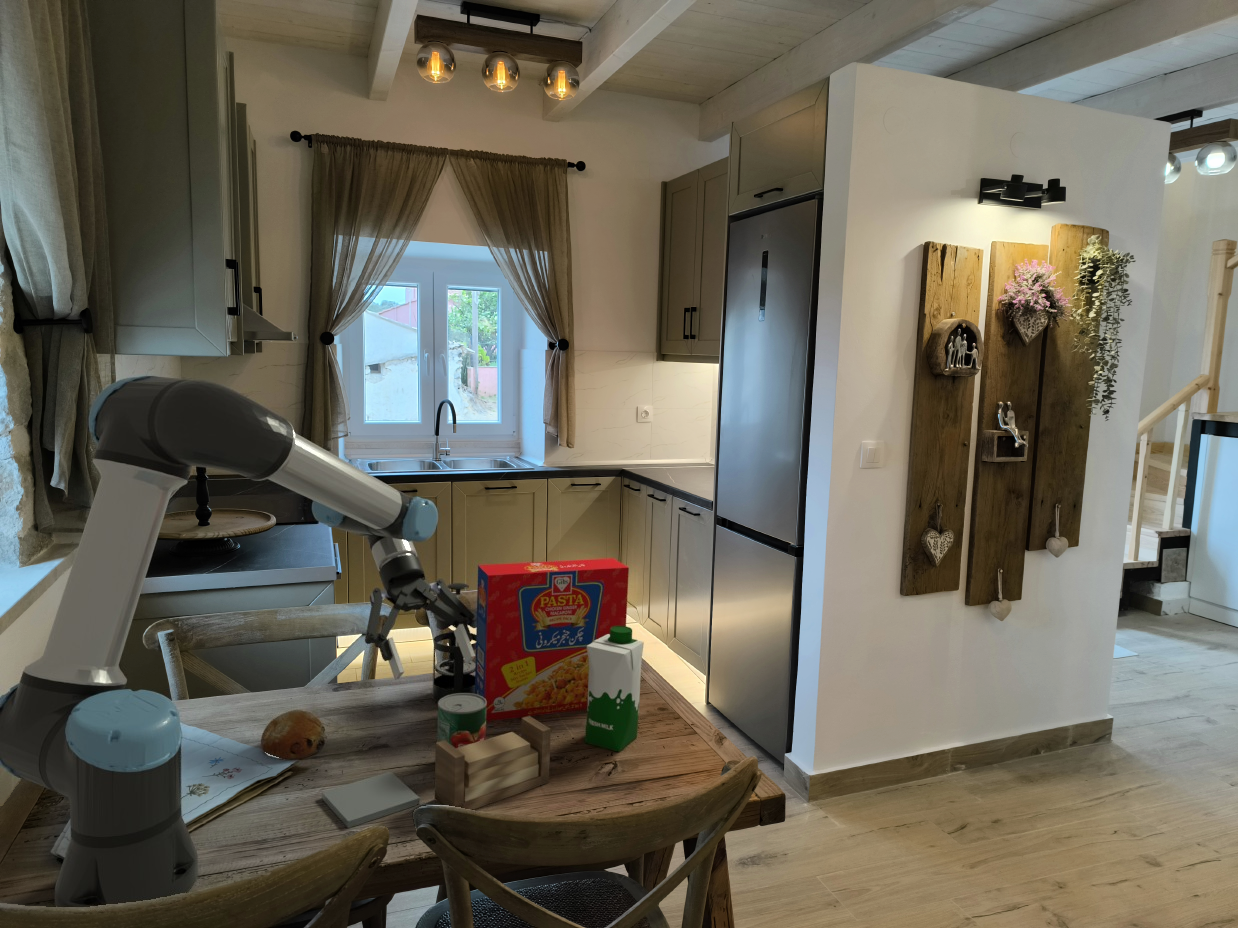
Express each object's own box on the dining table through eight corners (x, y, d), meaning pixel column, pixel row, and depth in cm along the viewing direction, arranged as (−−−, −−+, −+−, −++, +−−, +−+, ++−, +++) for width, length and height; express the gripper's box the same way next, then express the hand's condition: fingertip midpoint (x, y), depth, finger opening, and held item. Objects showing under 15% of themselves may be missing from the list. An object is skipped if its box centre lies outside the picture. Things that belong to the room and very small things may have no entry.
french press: (482, 705, 160) (486, 590, 157) (433, 709, 157) (436, 592, 154) (475, 683, 171) (477, 575, 168) (428, 686, 168) (431, 576, 166)
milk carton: (643, 736, 150) (649, 630, 147) (620, 755, 142) (626, 643, 139) (601, 725, 154) (606, 621, 151) (577, 743, 146) (581, 634, 143)
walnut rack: (454, 816, 120) (455, 757, 119) (434, 798, 125) (435, 742, 124) (548, 782, 131) (550, 728, 130) (527, 767, 136) (529, 715, 135)
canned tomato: (453, 750, 141) (455, 689, 140) (493, 760, 138) (495, 697, 137) (426, 770, 133) (428, 706, 132) (468, 781, 131) (470, 715, 129)
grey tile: (348, 827, 116) (348, 821, 116) (321, 798, 124) (321, 791, 124) (419, 803, 123) (419, 797, 123) (390, 777, 131) (390, 771, 131)
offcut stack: (464, 801, 122) (465, 764, 121) (447, 786, 126) (447, 750, 125) (538, 776, 130) (539, 741, 130) (519, 762, 134) (520, 729, 134)
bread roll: (307, 751, 146) (294, 707, 147) (343, 742, 141) (330, 696, 142) (257, 773, 137) (244, 726, 138) (294, 764, 132) (280, 715, 133)
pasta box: (484, 721, 153) (488, 575, 150) (474, 705, 160) (478, 565, 157) (622, 704, 164) (628, 567, 161) (607, 689, 171) (613, 558, 168)
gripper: (451, 567, 162) (489, 663, 152) (325, 584, 145) (360, 693, 136) (465, 545, 157) (506, 643, 148) (337, 561, 141) (374, 672, 131)
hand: (436, 667), depth 142 cm, fingers open, 13 cm apart
